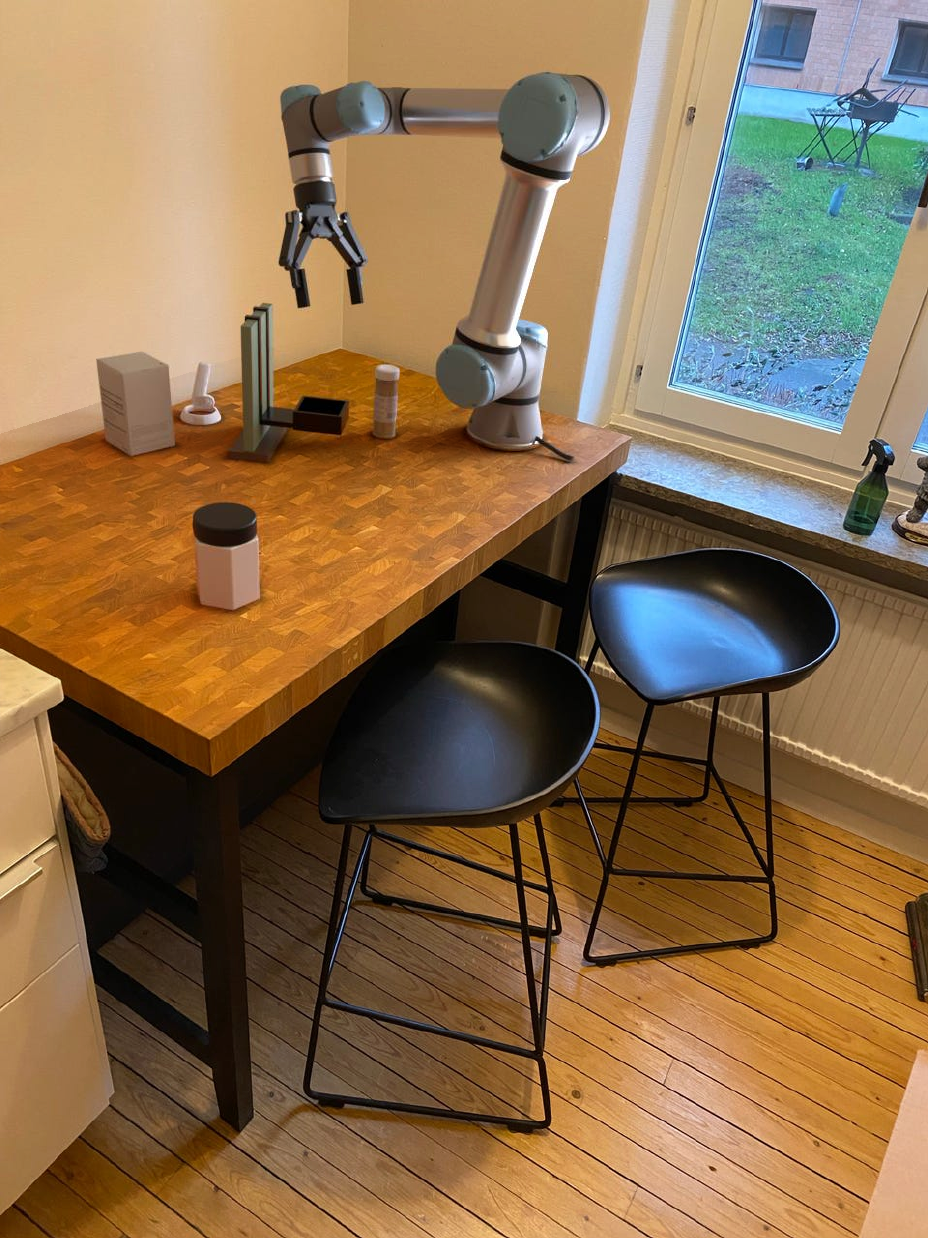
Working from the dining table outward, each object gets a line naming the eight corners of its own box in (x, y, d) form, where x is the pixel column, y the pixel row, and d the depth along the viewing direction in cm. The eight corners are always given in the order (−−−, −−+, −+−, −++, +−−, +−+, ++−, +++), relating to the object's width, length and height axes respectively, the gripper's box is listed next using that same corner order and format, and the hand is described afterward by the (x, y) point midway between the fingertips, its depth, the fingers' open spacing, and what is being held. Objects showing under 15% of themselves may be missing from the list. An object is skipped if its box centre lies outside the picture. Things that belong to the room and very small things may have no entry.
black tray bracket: (348, 418, 175) (352, 315, 165) (341, 435, 167) (344, 329, 157) (257, 408, 174) (255, 304, 164) (246, 424, 167) (243, 317, 157)
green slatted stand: (287, 428, 181) (287, 304, 168) (267, 462, 166) (266, 329, 154) (251, 424, 181) (249, 300, 168) (228, 458, 166) (223, 324, 154)
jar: (235, 572, 133) (232, 495, 127) (273, 594, 129) (272, 516, 123) (182, 593, 127) (176, 513, 121) (219, 617, 123) (216, 536, 117)
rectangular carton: (149, 430, 173) (143, 349, 165) (176, 446, 168) (170, 364, 160) (103, 440, 167) (94, 357, 159) (129, 457, 162) (121, 372, 155)
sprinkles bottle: (390, 430, 186) (394, 363, 178) (399, 438, 182) (403, 370, 175) (368, 431, 184) (371, 364, 176) (377, 440, 180) (380, 371, 173)
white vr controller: (226, 378, 186) (230, 368, 179) (217, 436, 185) (220, 428, 178) (187, 368, 184) (190, 358, 177) (177, 428, 183) (179, 419, 176)
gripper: (349, 190, 182) (365, 304, 187) (245, 184, 164) (266, 311, 170) (376, 182, 177) (391, 300, 183) (272, 175, 159) (293, 306, 165)
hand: (331, 305), depth 176 cm, fingers open, 13 cm apart
